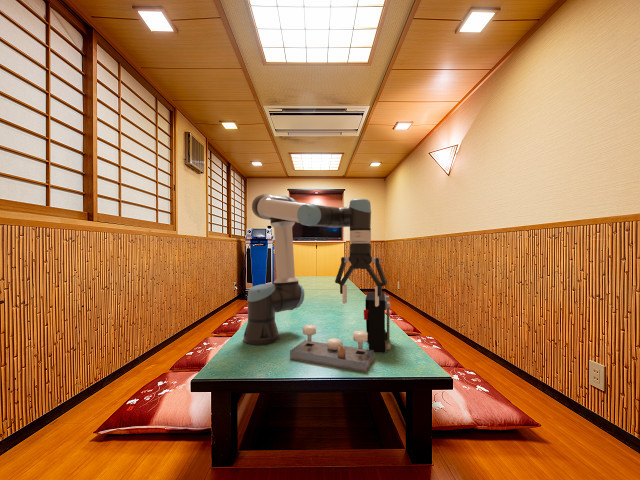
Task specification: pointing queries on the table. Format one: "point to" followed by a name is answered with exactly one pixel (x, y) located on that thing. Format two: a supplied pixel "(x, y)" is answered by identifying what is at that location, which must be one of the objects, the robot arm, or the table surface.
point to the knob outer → (360, 338)
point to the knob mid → (333, 343)
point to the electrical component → (377, 322)
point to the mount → (333, 356)
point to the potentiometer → (341, 351)
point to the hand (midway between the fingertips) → (360, 304)
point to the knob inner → (309, 331)
